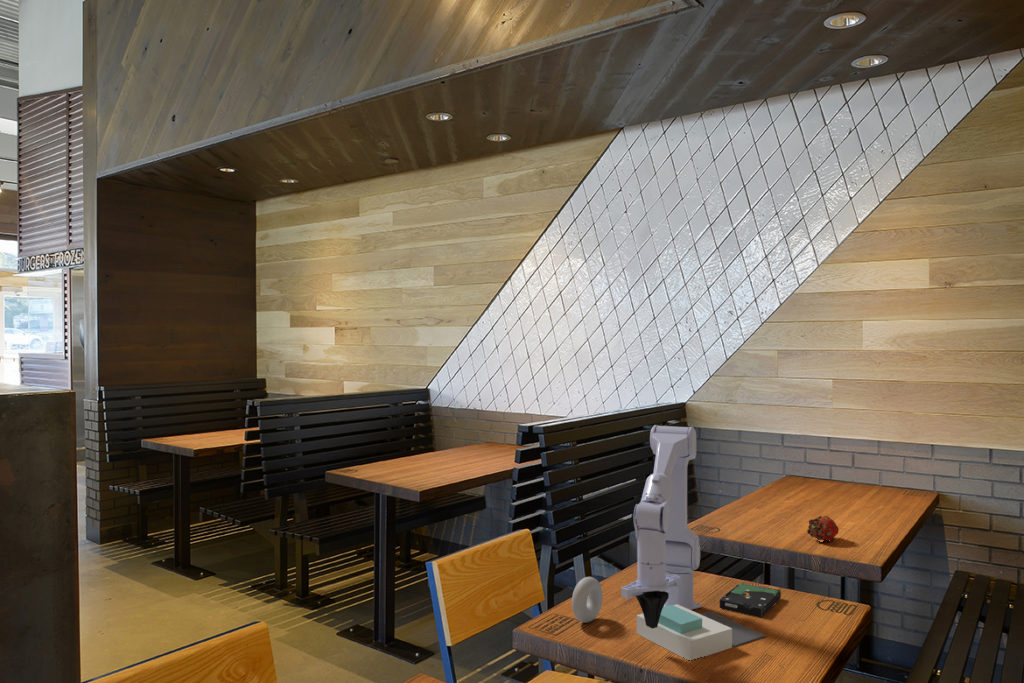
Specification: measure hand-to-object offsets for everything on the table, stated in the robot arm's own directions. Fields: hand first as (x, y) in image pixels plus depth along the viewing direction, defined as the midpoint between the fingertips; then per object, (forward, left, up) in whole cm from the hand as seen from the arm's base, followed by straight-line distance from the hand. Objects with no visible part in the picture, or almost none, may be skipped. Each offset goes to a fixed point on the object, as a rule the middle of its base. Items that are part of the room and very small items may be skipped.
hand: (651, 626), depth 152 cm
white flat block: (0, +9, -5) cm, 10 cm away
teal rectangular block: (0, +7, -1) cm, 7 cm away
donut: (-19, -2, -5) cm, 20 cm away
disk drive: (-7, +38, -6) cm, 39 cm away
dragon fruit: (-31, +99, -5) cm, 104 cm away
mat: (0, +20, -5) cm, 21 cm away
